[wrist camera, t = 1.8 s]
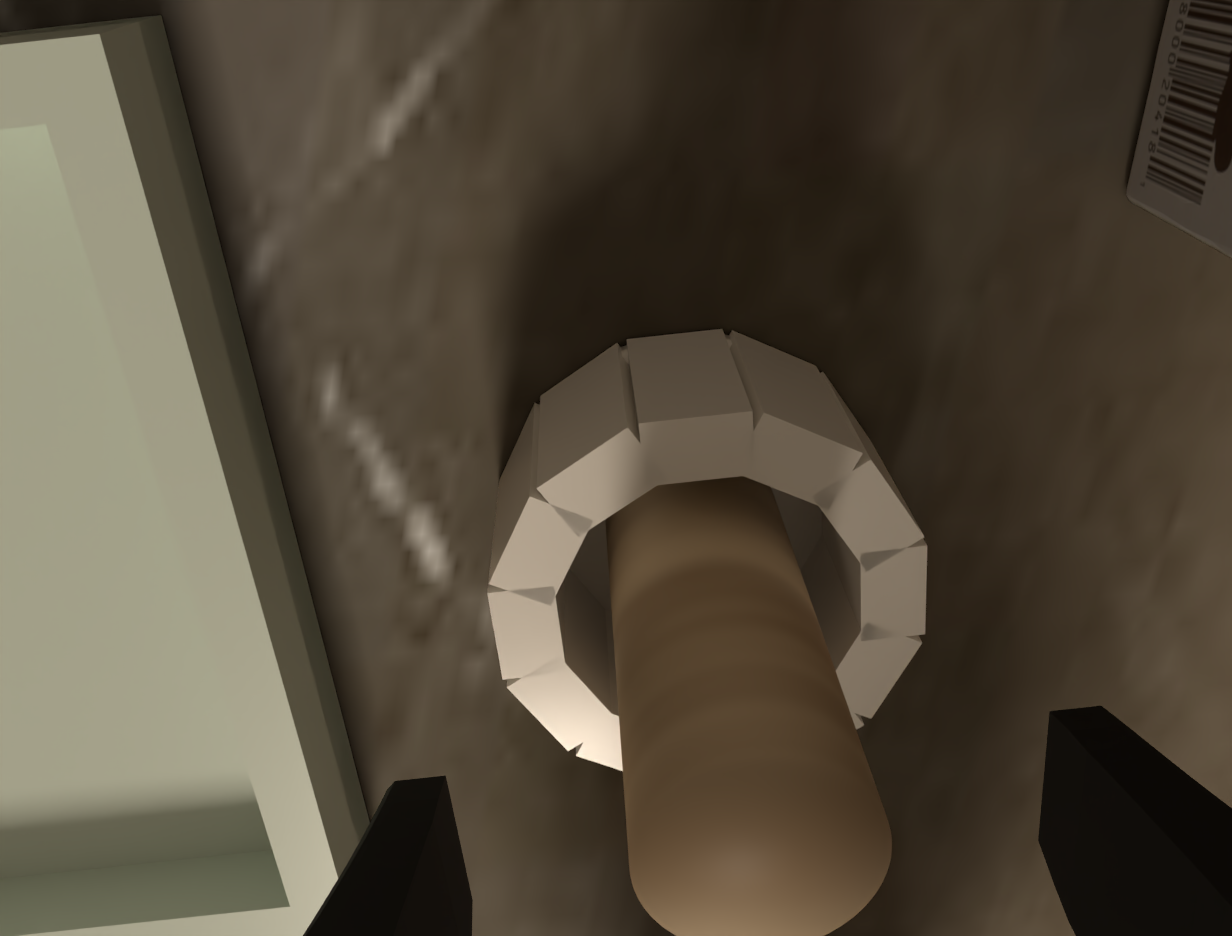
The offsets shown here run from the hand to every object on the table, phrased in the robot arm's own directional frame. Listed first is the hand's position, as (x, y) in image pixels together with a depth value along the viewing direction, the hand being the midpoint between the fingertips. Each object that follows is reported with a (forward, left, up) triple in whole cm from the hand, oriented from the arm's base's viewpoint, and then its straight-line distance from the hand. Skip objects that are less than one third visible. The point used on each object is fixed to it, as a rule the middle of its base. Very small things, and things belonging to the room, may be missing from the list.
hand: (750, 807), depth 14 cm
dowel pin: (0, 0, -7) cm, 7 cm away
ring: (0, 0, -8) cm, 8 cm away
